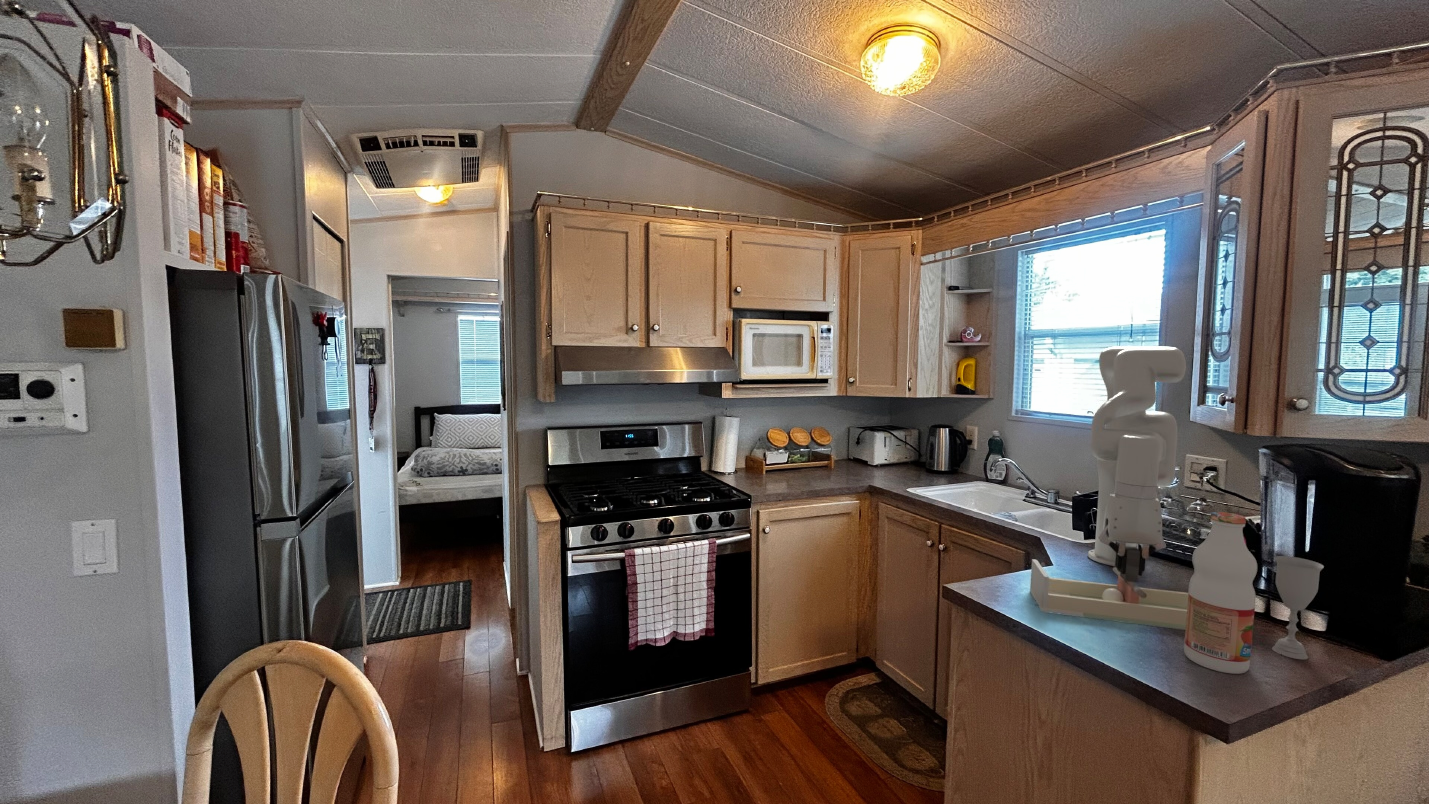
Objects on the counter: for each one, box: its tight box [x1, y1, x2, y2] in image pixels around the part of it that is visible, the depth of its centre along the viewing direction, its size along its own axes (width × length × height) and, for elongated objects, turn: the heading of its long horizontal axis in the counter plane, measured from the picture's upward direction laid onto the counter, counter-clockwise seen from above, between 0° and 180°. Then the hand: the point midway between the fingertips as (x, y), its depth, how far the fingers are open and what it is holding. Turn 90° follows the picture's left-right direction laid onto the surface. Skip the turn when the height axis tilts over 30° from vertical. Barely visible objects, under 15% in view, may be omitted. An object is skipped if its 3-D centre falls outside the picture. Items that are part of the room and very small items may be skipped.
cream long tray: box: [1029, 558, 1188, 631], centre depth 133 cm, size 12×32×8 cm, turn 73°
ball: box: [1102, 588, 1124, 602], centre depth 133 cm, size 4×4×4 cm
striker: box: [1112, 546, 1147, 604], centre depth 132 cm, size 16×2×13 cm, turn 163°
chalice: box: [1271, 555, 1325, 660], centre depth 114 cm, size 7×7×18 cm
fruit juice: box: [1183, 511, 1258, 675], centre depth 110 cm, size 9×9×28 cm
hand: (1129, 572), depth 132 cm, fingers closed on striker, 2 cm apart
